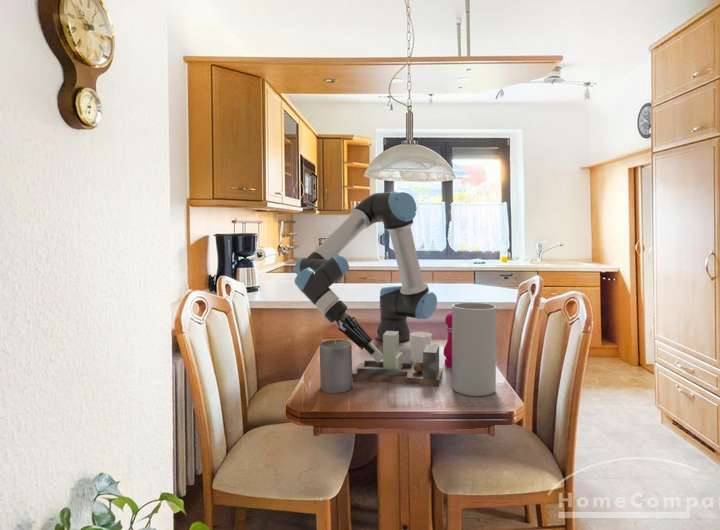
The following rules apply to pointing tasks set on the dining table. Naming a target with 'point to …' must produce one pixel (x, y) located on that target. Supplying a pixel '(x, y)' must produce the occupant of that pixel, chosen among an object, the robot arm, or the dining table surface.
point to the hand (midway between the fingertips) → (381, 359)
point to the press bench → (404, 370)
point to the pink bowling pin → (448, 341)
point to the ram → (391, 351)
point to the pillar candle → (336, 366)
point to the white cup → (418, 344)
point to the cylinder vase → (474, 348)
